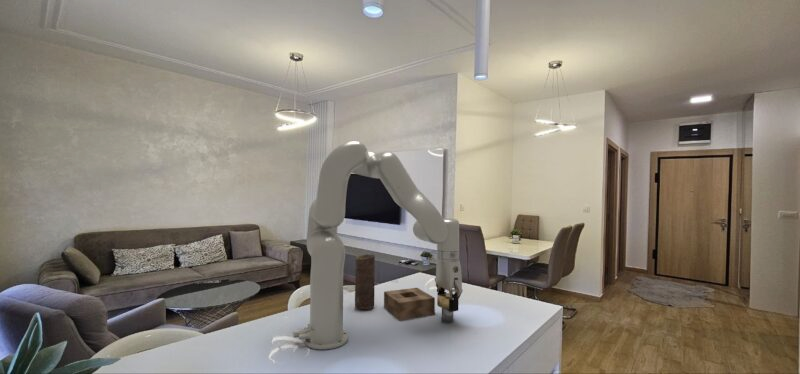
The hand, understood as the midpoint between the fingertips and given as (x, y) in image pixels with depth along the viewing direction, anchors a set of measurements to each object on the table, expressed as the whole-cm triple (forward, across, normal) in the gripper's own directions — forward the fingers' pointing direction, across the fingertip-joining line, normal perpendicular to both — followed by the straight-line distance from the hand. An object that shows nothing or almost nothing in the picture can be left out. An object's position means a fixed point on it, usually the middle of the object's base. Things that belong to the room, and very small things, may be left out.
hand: (447, 306), depth 118 cm
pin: (+5, 0, 0) cm, 5 cm away
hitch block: (+5, +14, +8) cm, 17 cm away
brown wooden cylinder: (+5, +23, +22) cm, 32 cm away
